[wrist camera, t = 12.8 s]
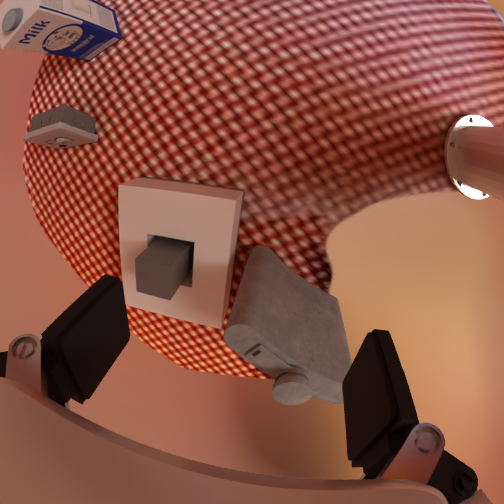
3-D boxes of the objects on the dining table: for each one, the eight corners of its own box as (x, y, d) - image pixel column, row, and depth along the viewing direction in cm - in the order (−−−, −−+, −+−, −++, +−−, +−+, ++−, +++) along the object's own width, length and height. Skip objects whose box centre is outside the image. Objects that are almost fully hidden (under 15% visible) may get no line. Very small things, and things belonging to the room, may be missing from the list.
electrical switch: (61, 149, 36) (21, 152, 27) (62, 120, 34) (23, 118, 25) (101, 141, 35) (60, 140, 26) (102, 109, 33) (62, 102, 24)
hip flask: (342, 302, 40) (366, 411, 22) (324, 319, 42) (336, 428, 24) (259, 239, 38) (231, 337, 20) (242, 260, 40) (204, 363, 22)
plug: (198, 234, 38) (170, 266, 29) (195, 262, 40) (170, 300, 30) (168, 228, 38) (134, 258, 29) (167, 256, 40) (136, 291, 31)
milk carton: (115, 9, 25) (28, -28, 7) (123, 38, 28) (26, 4, 10) (82, 33, 27) (-8, 14, 9) (88, 62, 29) (-11, 49, 11)
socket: (244, 190, 36) (236, 200, 30) (229, 304, 43) (220, 328, 38) (141, 176, 36) (118, 184, 31) (142, 285, 44) (125, 304, 38)
